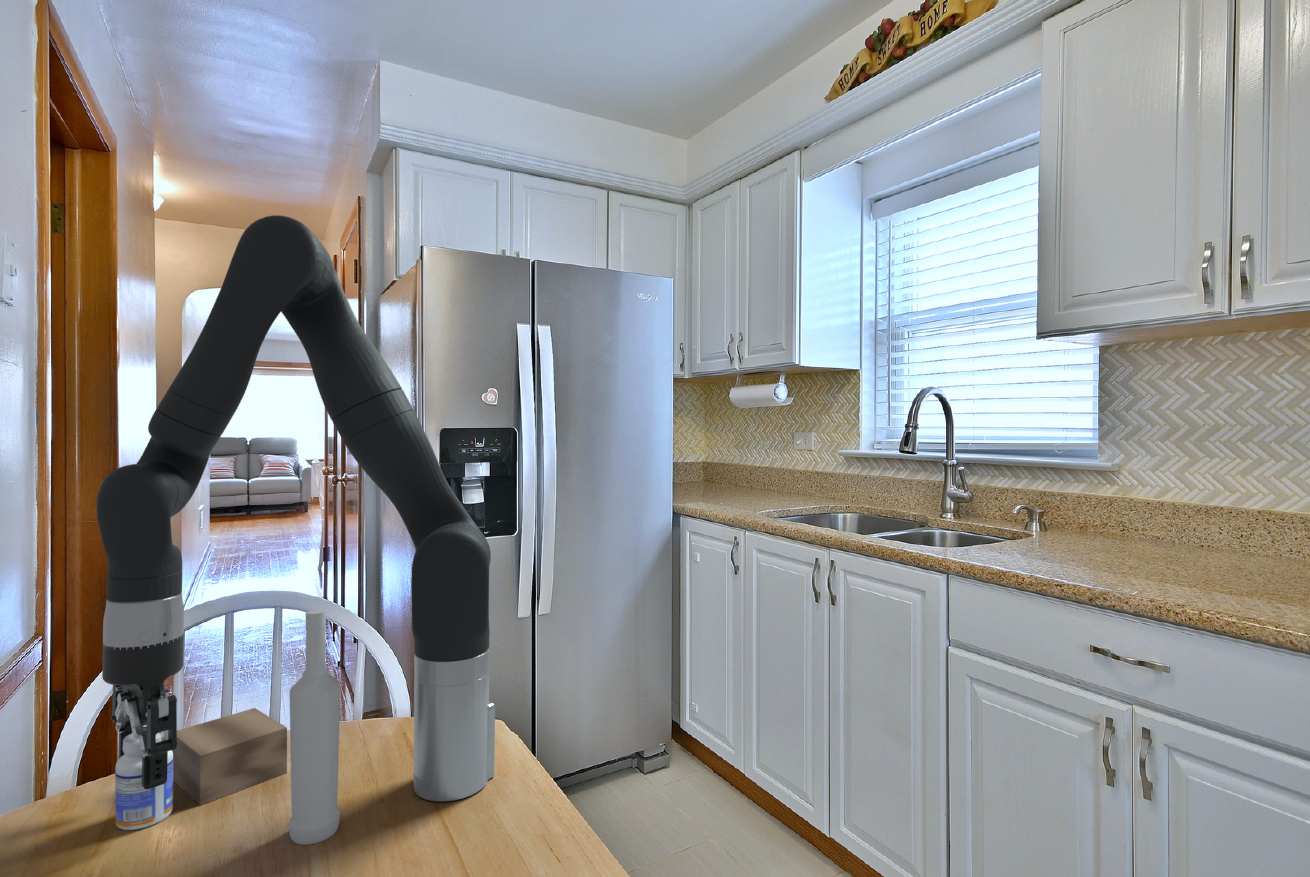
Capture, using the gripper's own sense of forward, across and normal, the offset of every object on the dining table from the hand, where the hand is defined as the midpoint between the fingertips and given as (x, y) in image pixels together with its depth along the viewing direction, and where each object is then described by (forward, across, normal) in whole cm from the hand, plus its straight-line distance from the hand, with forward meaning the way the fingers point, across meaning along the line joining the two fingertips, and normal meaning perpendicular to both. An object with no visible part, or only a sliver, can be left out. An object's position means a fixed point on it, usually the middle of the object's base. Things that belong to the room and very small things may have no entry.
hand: (142, 773), depth 79 cm
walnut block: (+5, +3, -10) cm, 12 cm away
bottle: (+5, -18, -11) cm, 22 cm away
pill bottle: (+5, 0, 0) cm, 5 cm away
